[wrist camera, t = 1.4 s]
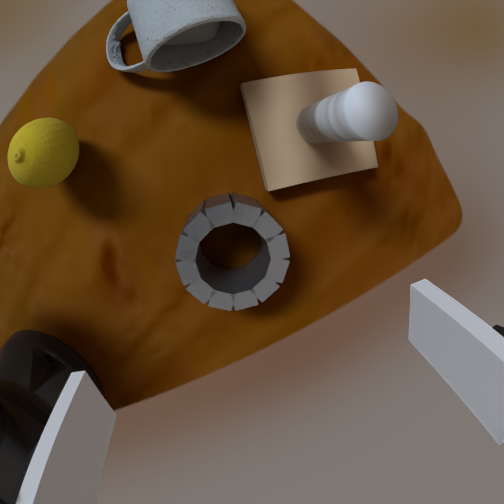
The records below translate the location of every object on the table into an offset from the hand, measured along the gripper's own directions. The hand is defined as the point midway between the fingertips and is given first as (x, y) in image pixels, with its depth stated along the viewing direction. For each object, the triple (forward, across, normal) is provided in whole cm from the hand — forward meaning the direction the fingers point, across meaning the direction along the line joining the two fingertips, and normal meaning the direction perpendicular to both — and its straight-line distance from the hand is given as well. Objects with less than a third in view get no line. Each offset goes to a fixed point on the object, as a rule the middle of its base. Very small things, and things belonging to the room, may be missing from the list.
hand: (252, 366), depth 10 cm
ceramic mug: (+17, 0, +19) cm, 25 cm away
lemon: (+17, -12, +12) cm, 24 cm away
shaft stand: (+16, +9, +8) cm, 20 cm away
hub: (+16, 0, 0) cm, 16 cm away
